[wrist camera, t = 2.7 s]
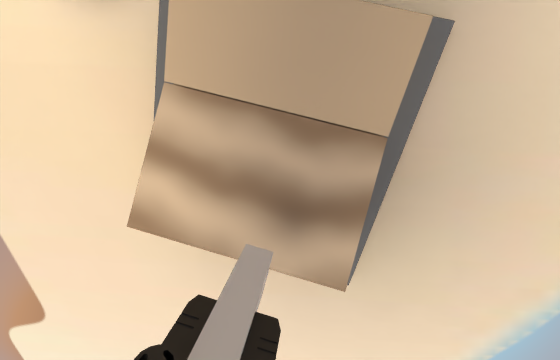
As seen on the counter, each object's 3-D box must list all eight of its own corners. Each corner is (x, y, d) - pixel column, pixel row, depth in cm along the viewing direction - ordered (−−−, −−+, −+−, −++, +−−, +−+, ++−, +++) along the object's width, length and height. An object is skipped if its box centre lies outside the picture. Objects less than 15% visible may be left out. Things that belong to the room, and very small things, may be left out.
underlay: (168, -36, 21) (144, -54, 18) (448, 23, 20) (468, 13, 17) (154, 221, 30) (136, 235, 27) (347, 278, 28) (349, 300, 25)
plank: (175, 90, 23) (164, 82, 21) (379, 141, 22) (387, 138, 20) (141, 222, 24) (126, 226, 22) (341, 281, 22) (345, 291, 20)
